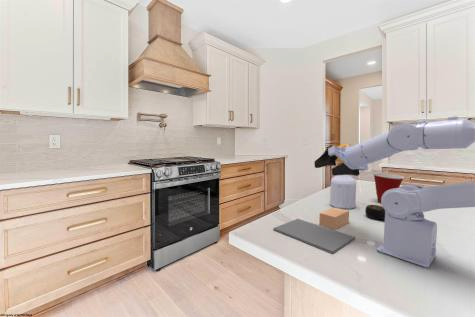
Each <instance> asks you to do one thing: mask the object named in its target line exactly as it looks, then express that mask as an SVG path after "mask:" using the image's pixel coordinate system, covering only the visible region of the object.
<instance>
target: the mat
mask: <svg viewBox="0 0 475 317" xmlns="http://www.w3.org/2000/svg"><path fill="white" fill-rule="evenodd" d="M272 231H274V232H277V233H280V234H282V235H285V236H287V237H290V238H292V239H295V240H297V241H299V242H302V243H305V244H307V245H309V246H312V247H314V248H316V249H320V250H322V251H323V252H326V253H328V254H331V255H333V254H335V253H337V252H338V251H340V250H341V249H343V248H344V247H346V246H348V245H349V244H350V243H351V242H353V241H355V240H356V237H355V236H353V235H350V234H347V233H344V232H341V231H338V230H334V229H331V228H328V227H324V226H321V225H319V224H316V223H313V222H309V221H306V220H304V219H300V218H296V219H293V220H291V221H288V222H285V223H283V224H280V225H277V226H276V227H273V230H272Z"/></svg>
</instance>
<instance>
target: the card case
mask: <svg viewBox="0 0 475 317" xmlns="http://www.w3.org/2000/svg"><path fill="white" fill-rule="evenodd" d="M318 220H319V224H318V225H319V226H322V227H326V228H329V229H332V230H335V231H337V229H340V228H341V227H343V226H344V225H347V224H348V223H349V221H350V210H349V209H341V208H336V207H333V206H332V207H331V208H329V209H326V210H324V211H322V212H319V219H318Z"/></svg>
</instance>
